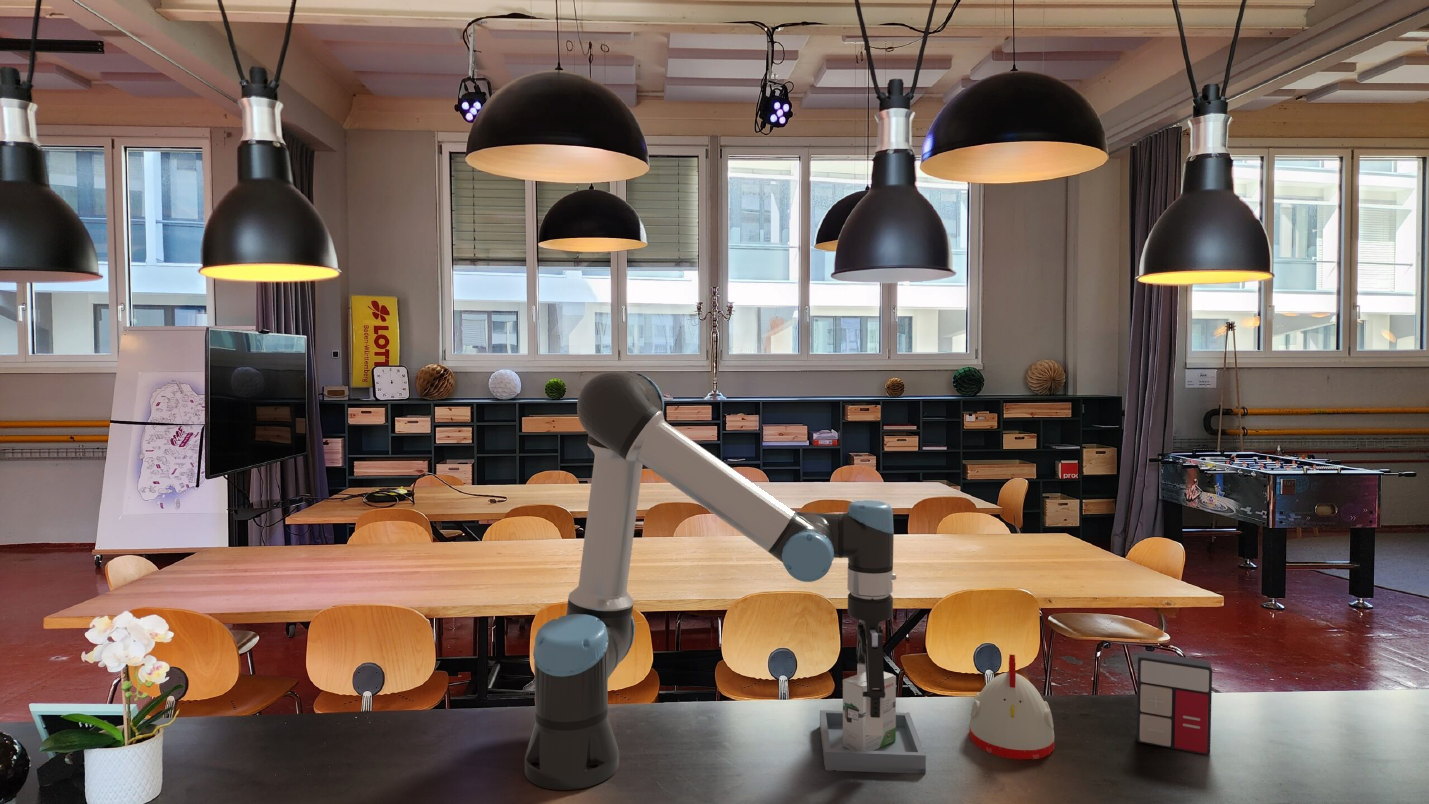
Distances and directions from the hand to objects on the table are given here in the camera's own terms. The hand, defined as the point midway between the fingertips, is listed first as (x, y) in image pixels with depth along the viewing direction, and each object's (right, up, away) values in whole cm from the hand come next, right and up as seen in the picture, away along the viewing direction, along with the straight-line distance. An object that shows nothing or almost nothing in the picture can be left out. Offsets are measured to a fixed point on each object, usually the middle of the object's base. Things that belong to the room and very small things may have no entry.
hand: (869, 716), depth 138 cm
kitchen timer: (+25, -6, +3) cm, 26 cm away
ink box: (0, -5, 0) cm, 5 cm away
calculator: (+52, -6, +1) cm, 53 cm away
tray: (0, -6, 0) cm, 6 cm away
